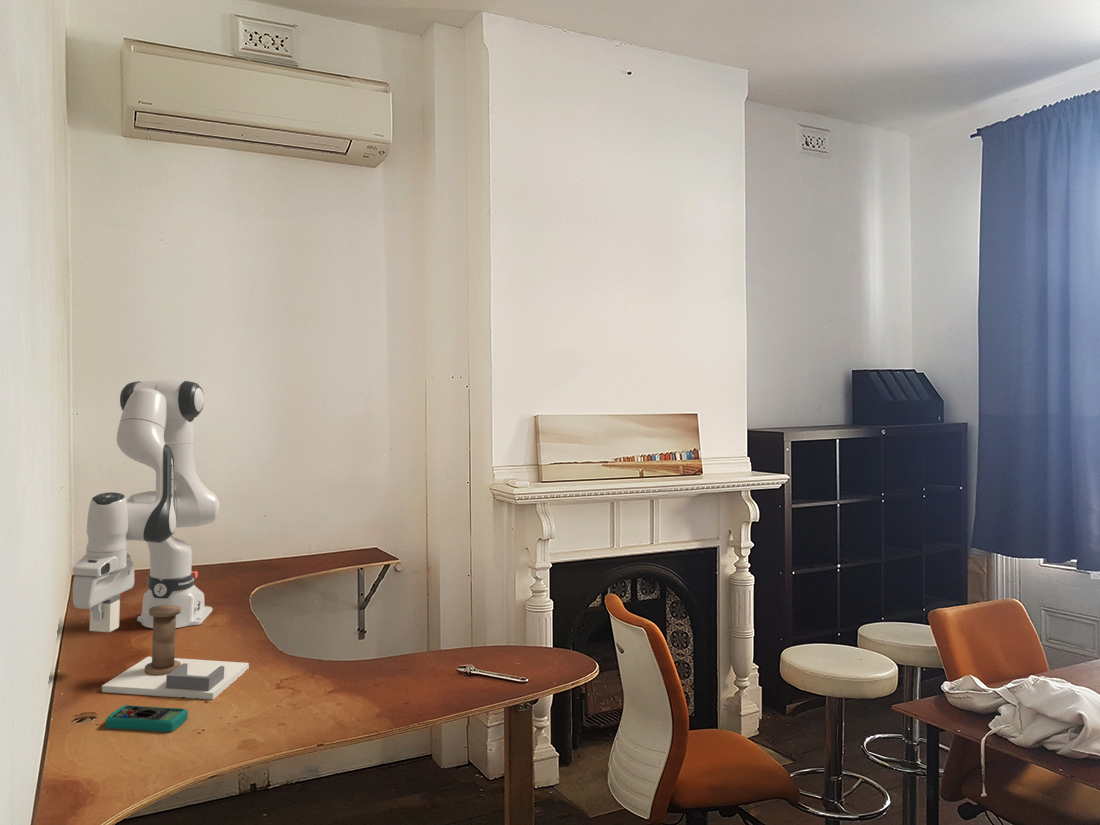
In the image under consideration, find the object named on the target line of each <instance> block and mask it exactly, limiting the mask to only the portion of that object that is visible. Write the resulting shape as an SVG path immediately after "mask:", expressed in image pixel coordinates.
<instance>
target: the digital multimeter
mask: <svg viewBox="0 0 1100 825" xmlns="http://www.w3.org/2000/svg"><path fill="white" fill-rule="evenodd" d="M188 716H189V711H188V709H185V708H175V707H160V706H159V707H156V706H142V705H141V706H140V705H131V704H130V705H129V704H128V705H127V704H126V705H125V704H124V705H122V706H120V707H119V708H117V709H115V711H112V712H111V713H110V714H109V715H108V716H107V717H106V718H105V728H106V729H109V730H110V729H112V730H132V731H133V730H134V731H135V730H136V731H147V732H159V733H160V732H161V733H172V732H174V731H176V729H179V728H180V726H181V725H183V724H184V723H185V722H186V721H187V720H188Z"/></svg>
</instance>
